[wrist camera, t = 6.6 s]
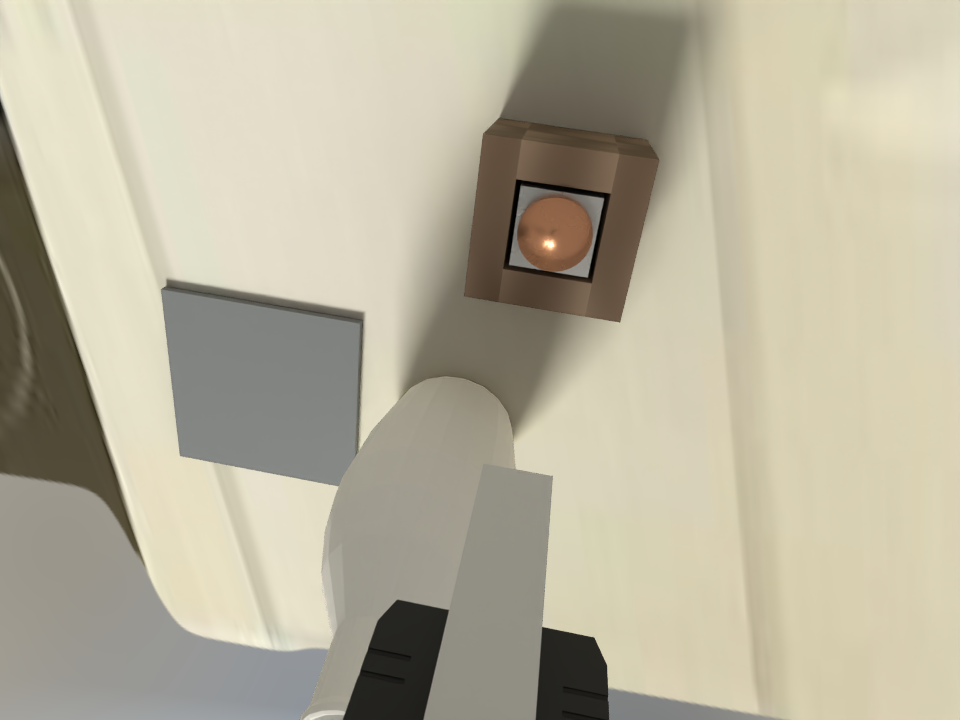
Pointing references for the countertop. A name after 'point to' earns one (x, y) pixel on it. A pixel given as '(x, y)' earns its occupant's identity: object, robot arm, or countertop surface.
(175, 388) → the mat
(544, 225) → the release button
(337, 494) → the bottle
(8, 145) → the countertop surface
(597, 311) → the button housing
